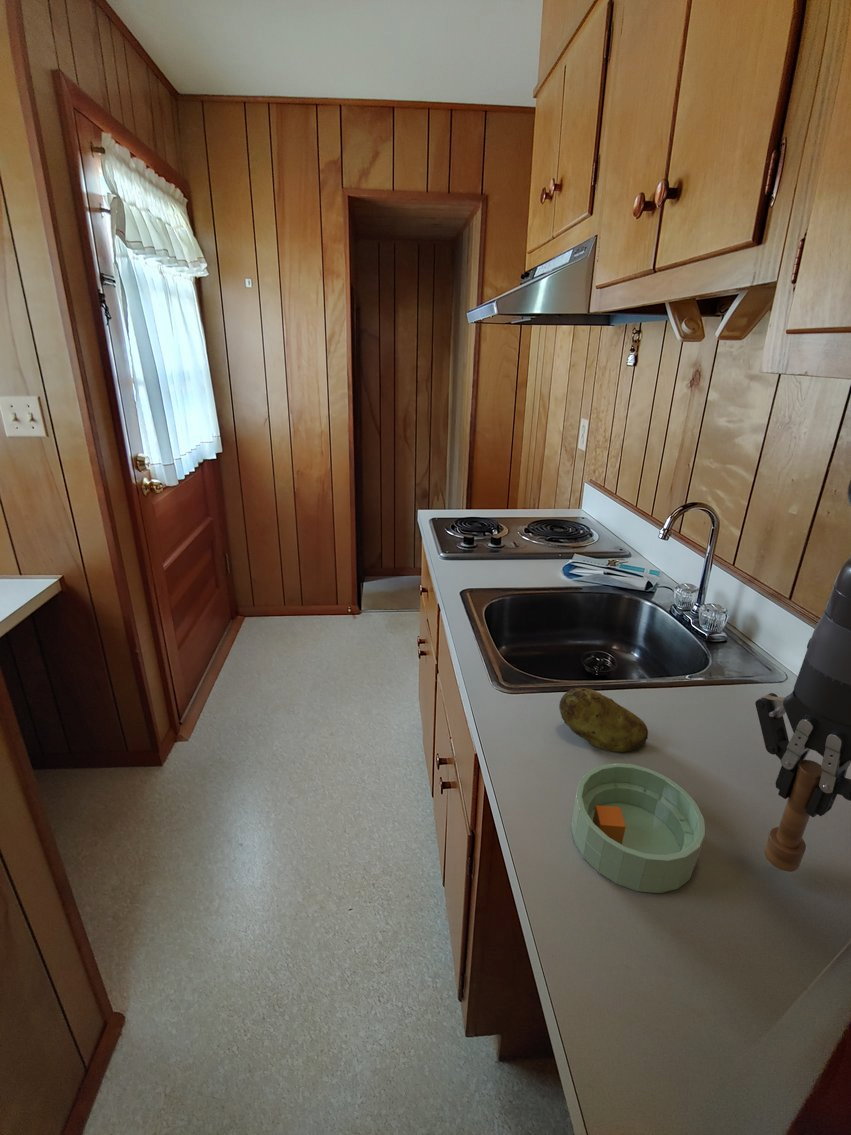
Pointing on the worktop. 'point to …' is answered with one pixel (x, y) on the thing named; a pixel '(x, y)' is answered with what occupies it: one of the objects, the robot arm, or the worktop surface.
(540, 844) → the worktop surface
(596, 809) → the carrot cube
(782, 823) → the wooden flanged peg
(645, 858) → the bowl
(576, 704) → the potato
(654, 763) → the worktop surface
